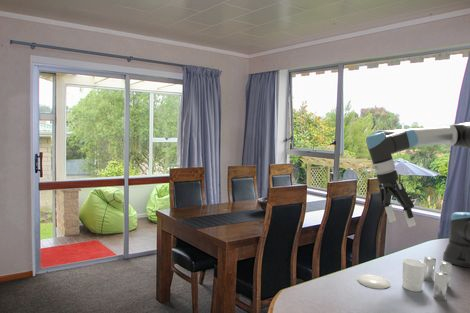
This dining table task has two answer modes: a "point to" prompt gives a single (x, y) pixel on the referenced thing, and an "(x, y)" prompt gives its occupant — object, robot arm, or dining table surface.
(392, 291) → the dining table surface
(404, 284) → the white cup
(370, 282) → the coaster
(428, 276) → the cylinder
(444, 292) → the cylinder
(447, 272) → the cylinder
